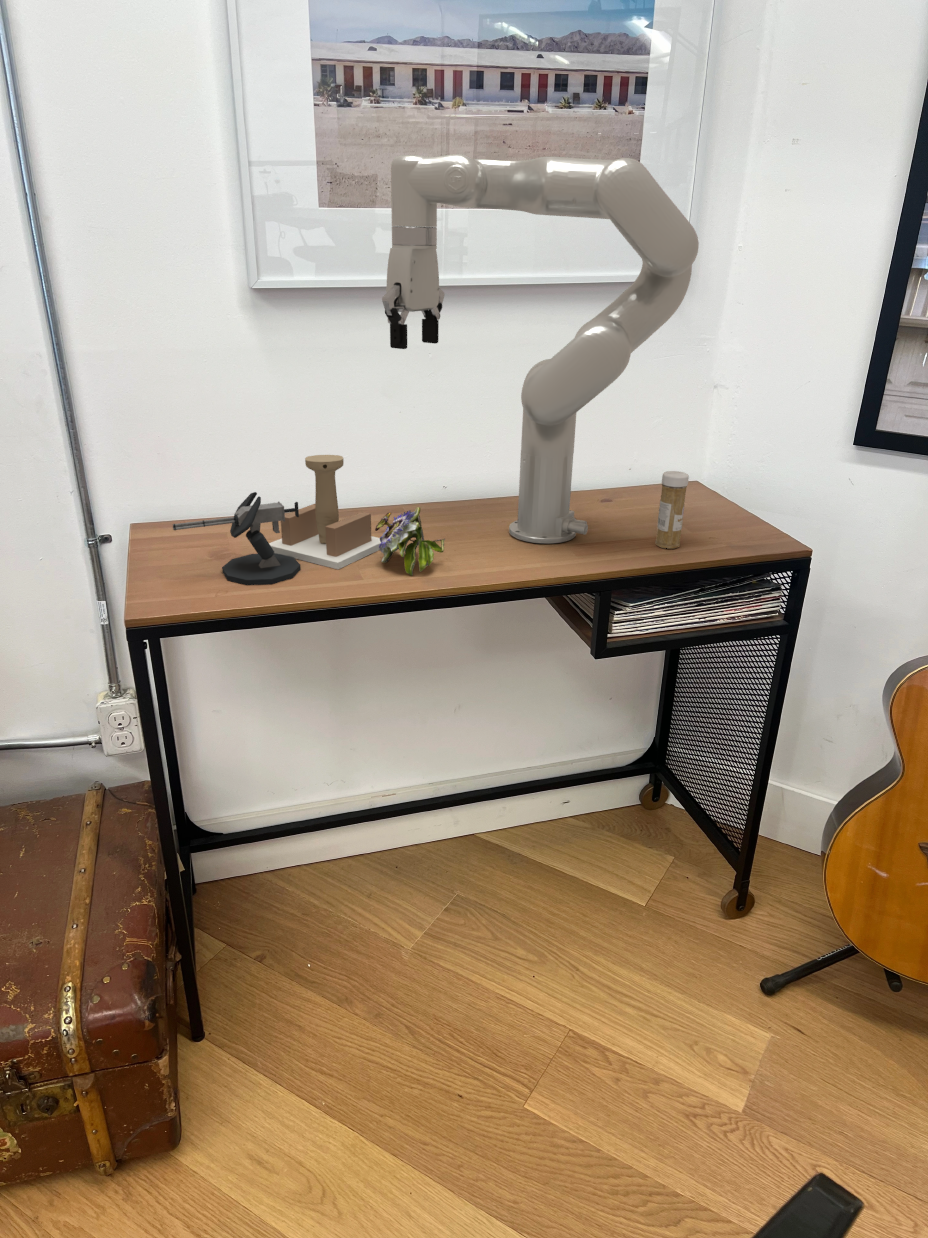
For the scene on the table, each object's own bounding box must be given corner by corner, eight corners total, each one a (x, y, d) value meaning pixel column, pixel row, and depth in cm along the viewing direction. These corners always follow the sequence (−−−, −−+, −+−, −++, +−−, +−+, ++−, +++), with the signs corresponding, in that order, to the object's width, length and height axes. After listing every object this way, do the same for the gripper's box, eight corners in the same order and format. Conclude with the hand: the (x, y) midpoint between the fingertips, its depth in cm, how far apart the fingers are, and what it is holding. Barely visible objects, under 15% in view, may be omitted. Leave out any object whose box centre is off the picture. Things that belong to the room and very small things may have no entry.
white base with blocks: (387, 546, 156) (386, 512, 154) (338, 569, 145) (336, 534, 143) (318, 529, 164) (316, 497, 161) (266, 551, 153) (263, 517, 150)
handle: (347, 545, 153) (344, 461, 146) (310, 547, 151) (305, 462, 145) (345, 536, 157) (342, 454, 151) (309, 538, 156) (305, 455, 150)
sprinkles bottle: (682, 549, 157) (692, 476, 152) (657, 549, 157) (666, 476, 152) (676, 541, 162) (685, 470, 156) (651, 541, 161) (659, 469, 156)
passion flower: (387, 592, 151) (369, 527, 152) (447, 576, 152) (429, 512, 154) (388, 578, 140) (369, 508, 141) (453, 561, 141) (433, 492, 143)
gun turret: (174, 570, 144) (164, 494, 139) (292, 553, 152) (287, 481, 147) (188, 597, 134) (178, 516, 128) (314, 577, 142) (310, 501, 136)
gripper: (424, 238, 154) (424, 339, 161) (364, 238, 141) (367, 348, 148) (460, 239, 151) (458, 342, 158) (403, 239, 137) (404, 352, 144)
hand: (414, 345), depth 153 cm, fingers open, 9 cm apart
